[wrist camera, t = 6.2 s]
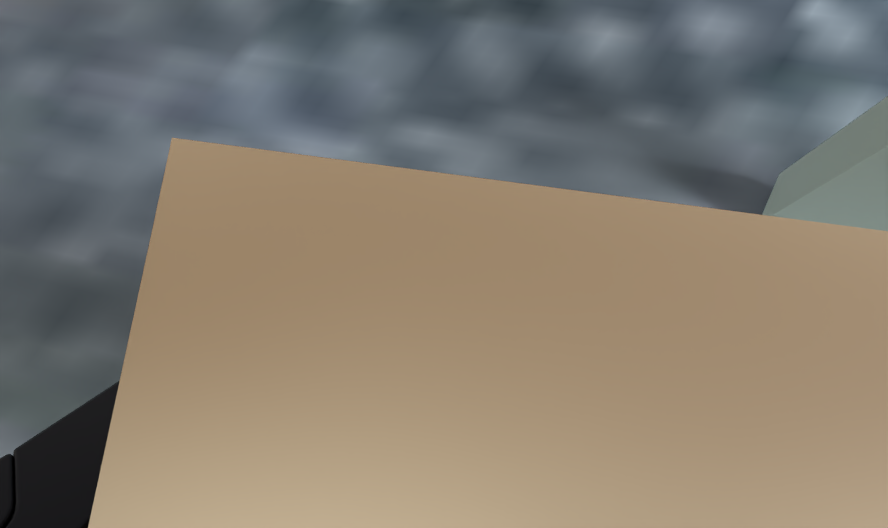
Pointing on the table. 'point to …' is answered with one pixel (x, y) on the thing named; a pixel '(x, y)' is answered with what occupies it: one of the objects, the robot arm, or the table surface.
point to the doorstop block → (490, 357)
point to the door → (840, 177)
